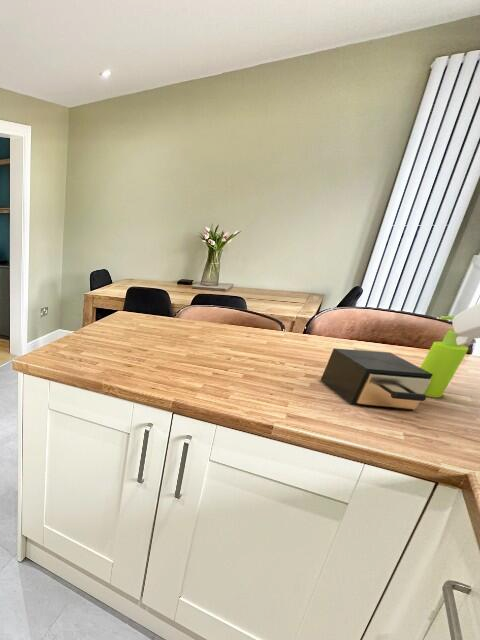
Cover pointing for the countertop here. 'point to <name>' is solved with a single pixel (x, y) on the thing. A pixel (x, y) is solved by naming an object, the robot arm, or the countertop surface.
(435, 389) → the soap dispenser
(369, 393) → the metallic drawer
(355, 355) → the black drawer box
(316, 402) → the countertop surface
